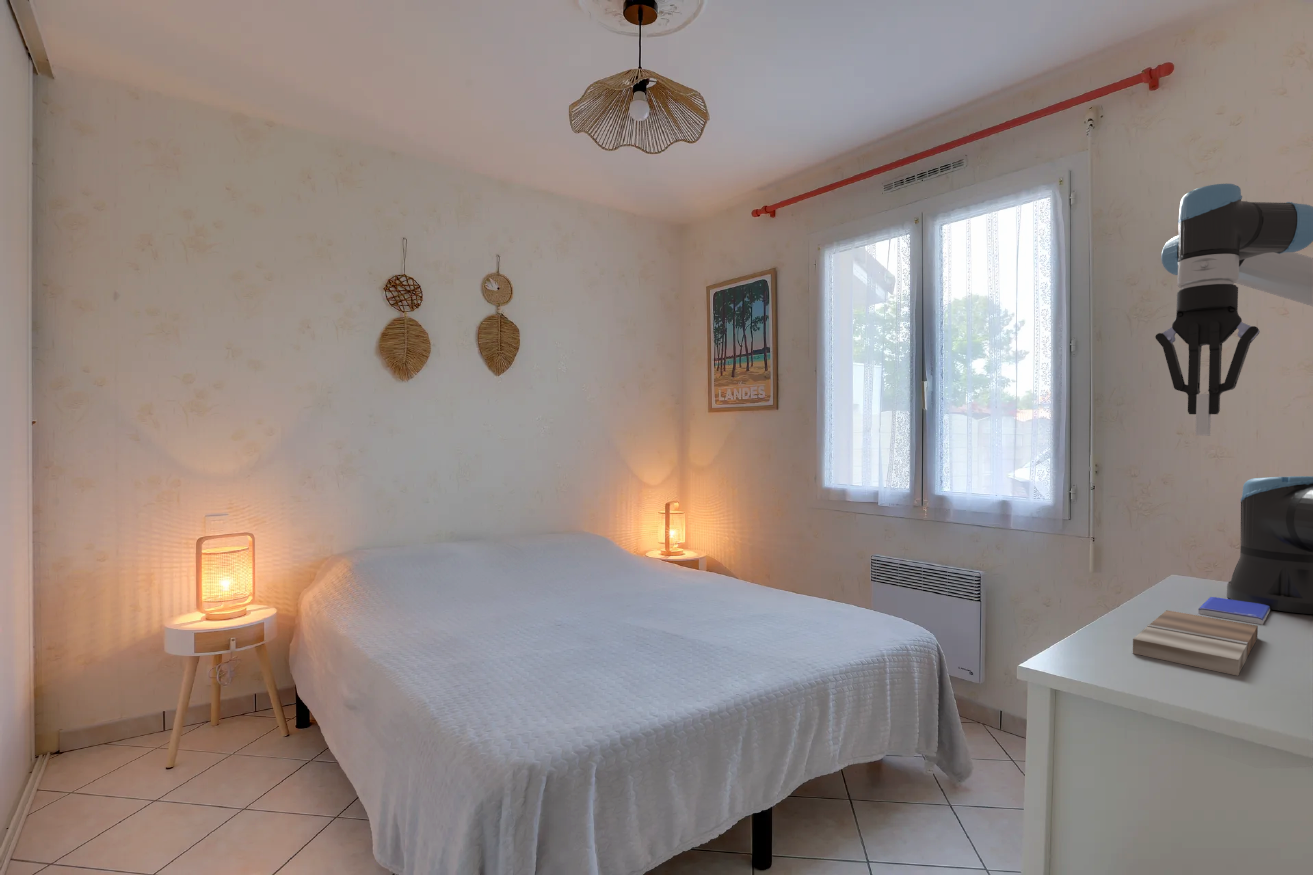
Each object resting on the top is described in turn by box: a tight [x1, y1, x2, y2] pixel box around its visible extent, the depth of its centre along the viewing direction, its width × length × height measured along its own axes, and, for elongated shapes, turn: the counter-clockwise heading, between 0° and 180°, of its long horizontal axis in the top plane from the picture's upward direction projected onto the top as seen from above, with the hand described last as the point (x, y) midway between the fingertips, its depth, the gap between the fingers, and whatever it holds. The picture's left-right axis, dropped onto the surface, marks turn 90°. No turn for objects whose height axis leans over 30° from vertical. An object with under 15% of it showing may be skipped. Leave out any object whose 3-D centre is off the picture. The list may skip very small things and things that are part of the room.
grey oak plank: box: [1132, 623, 1248, 677], centre depth 91 cm, size 10×11×2 cm
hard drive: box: [1197, 596, 1271, 625], centre depth 115 cm, size 2×8×12 cm
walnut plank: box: [1149, 609, 1259, 658], centre depth 100 cm, size 13×11×2 cm
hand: (1202, 435), depth 106 cm, fingers closed
